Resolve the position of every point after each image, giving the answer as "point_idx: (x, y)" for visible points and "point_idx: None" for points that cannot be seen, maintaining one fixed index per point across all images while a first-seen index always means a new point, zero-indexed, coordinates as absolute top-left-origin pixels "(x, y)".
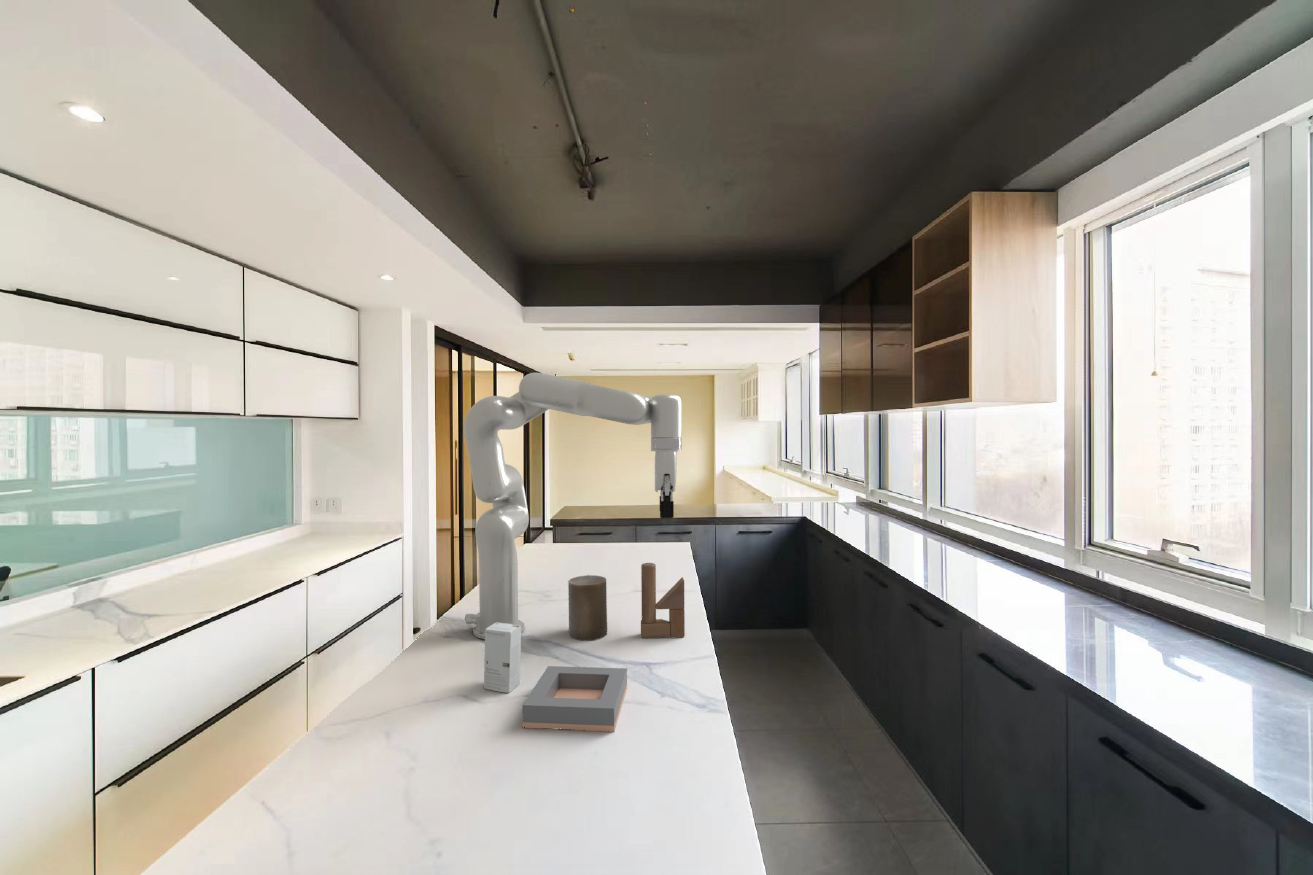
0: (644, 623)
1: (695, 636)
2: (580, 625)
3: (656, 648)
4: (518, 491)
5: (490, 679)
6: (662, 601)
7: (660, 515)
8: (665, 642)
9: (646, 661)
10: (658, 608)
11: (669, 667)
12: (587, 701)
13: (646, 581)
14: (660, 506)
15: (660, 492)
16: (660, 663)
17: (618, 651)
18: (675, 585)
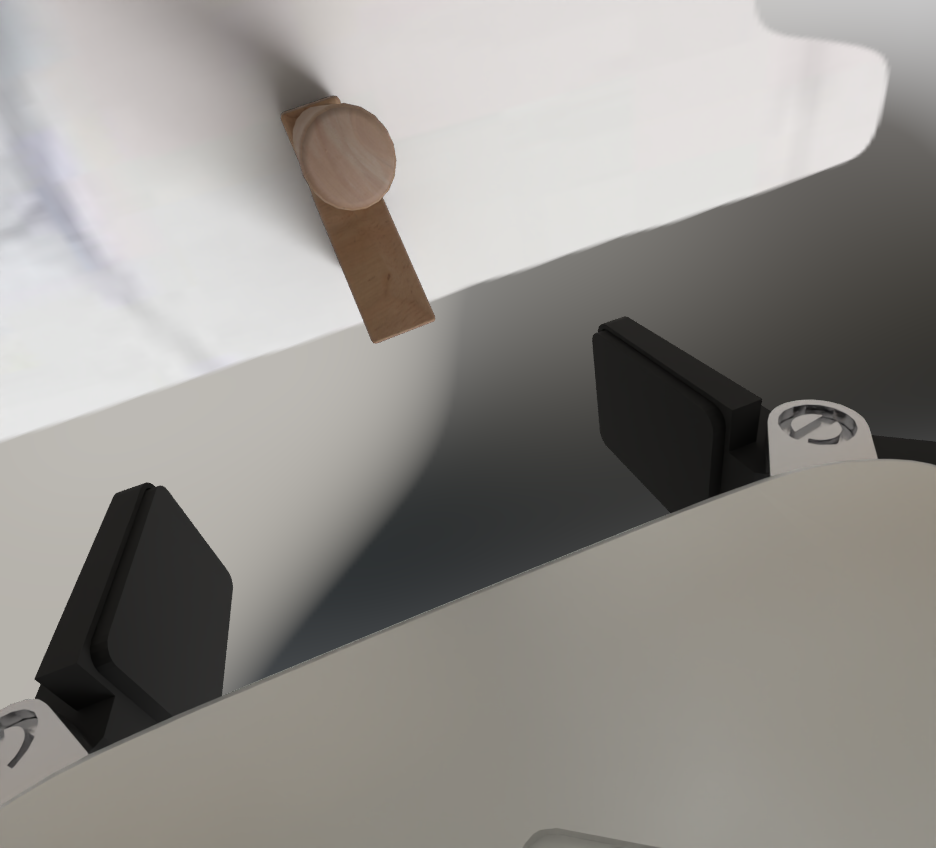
0: (291, 127)
1: None
2: None
3: (211, 202)
4: None
5: None
6: (333, 220)
7: (110, 510)
8: (280, 220)
9: (73, 197)
10: (314, 200)
11: (71, 291)
12: None
13: (296, 150)
14: (72, 605)
15: (860, 418)
16: (86, 252)
17: (103, 44)
18: (396, 284)
